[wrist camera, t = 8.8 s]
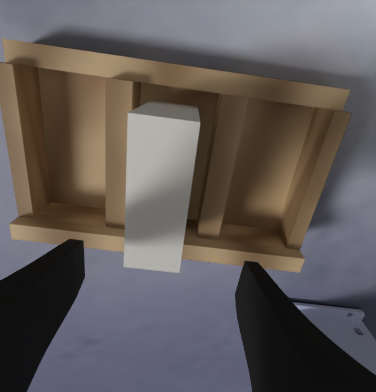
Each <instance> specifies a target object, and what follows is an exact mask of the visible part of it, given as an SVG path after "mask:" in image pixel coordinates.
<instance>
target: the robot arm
mask: <svg viewBox="0 0 376 392" xmlns="http://www.w3.org/2000/svg"><path fill="white" fill-rule="evenodd" d="M84 278H85V266H84V240H76V239H68V240H67V241H65V242H63V243H62V244H60V245H59V246H57V247H55V248H54V249H52V250H51V251H49V252H48V253H46V254H45V255H43V256H41V257H40V258H38V259H37V260H35V261H33V262H32V263H30V264H28V265H27V266H25V267H23V268H22V269H20V270H18V271H16V272H15V273H13V274H11V275H9V276H8V277H6V278H4V279H2V280H0V392H27V390H28V388H29V386H30V383H31V381H32V379H33V377H34V375H35V373H36V370H37V368H38V366H39V364H40V362H41V360H42V358H43V356H44V354H45V352H46V350H47V348H48V346H49V345H50V343H51V341H52V339H53V338H54V336H55V334H56V332H57V331H58V329H59V327H60V325H61V324H62V322H63V320H64V318H65V317H66V315H67V313H68V311H69V310H70V308H71V306H72V304H73V303H74V301H75V299H76V297H77V295H78V292H79V290H80V288H81V285H82V283H83V280H84ZM235 300H236V311H237V319H238V323H239V328H240V333H241V337H242V342H243V346H244V351H245V355H246V360H247V364H248V369H249V374H250V380H251V386H252V392H376V340H375V339H374V337H373V336H372V334H371V333H370V332H369V330H368V329H367V327H366V326H365V324H364V323H363V322H362V319H363V318H364V316H365V314H364V312H363V311H362V310H359V309H351V308H342V307H333V306H324V305H315V304H306V303H297V302H292V301H291V300H290V299H289V298H288V297H287V296H286V295H285V294H284V292H283V291H282V290H281V289H280V288H279V287H278V285H277V284H276V283H275V282H274V281H273V279H272V278H271V277H270V276H269V275H268V273H267V272H266V271H265V270H264V269H263V267H262V266H261V265H260V264H259V263H258V262H253V261H244V265H243V268H242V272H241V275H240V279H239V282H238V286H237V289H236V293H235Z"/></svg>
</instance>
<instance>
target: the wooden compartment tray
mask: <svg viewBox="0 0 376 392" xmlns="http://www.w3.org/2000/svg"><path fill="white" fill-rule="evenodd" d="M2 41H3V48H4V55H5V61H6V63H3V62H0V105H1V111H2V117H3V123H4V129H5V136H6V142H7V148H8V154H9V160H10V166H11V172H12V178H13V184H14V190H15V197H16V203H17V209H18V215H19V217H17V218H16V219H15V220H14V221H12V222H11V223H10V230H11V235H12V239H17V240H25V241H34V242H42V243H51V244H62V243H63V242H65V241H67V240H68V239H76V240H84V247H85V248H94V249H102V250H111V251H120V252H124V239H125V200H126V161H127V122H128V112H130V111H132V110H134V109H136V108H138V107H140V106H142V105H143V104H145V103H147V102H149V101H151V100H156V101H164V102H171V103H179V104H186V105H194V106H198V112H199V117H200V129H199V136H198V143H197V151H196V158H195V165H194V172H193V179H192V186H191V193H190V200H189V207H188V214H187V221H186V229H185V236H184V243H183V250H182V257H181V259H188V260H197V261H205V262H214V263H222V264H231V265H239V266H243V265H244V261H253V262H258V263H259V264H260V265H261V266H262V267H263V268H265V269H274V270H282V271H291V272H299V273H300V270H301V268H302V265H303V263H304V260H305V258H304V256H303V255H302V253H301V252H300V248H301V245H302V242H303V240H304V237H305V235H306V232H307V229H308V227H309V224H310V222H311V219H312V216H313V214H314V211H315V208H316V206H317V203H318V201H319V198H320V195H321V193H322V190H323V188H324V185H325V182H326V180H327V177H328V174H329V172H330V169H331V167H332V164H333V161H334V159H335V156H336V154H337V151H338V148H339V146H340V143H341V140H342V138H343V135H344V133H345V130H346V127H347V125H348V122H349V120H350V117H351V114H352V113H349V112H344V111H343V109H344V106H345V103H346V101H347V98H348V95H349V92H350V90H348V89H341V88H334V87H327V86H320V85H314V84H307V83H300V82H293V81H287V80H280V79H273V78H266V77H259V76H253V75H246V74H239V73H232V72H225V71H219V70H212V69H205V68H198V67H192V66H185V65H178V64H171V63H164V62H158V61H151V60H144V59H137V58H130V57H124V56H117V55H110V54H103V53H97V52H90V51H83V50H76V49H69V48H63V47H56V46H49V45H42V44H35V43H29V42H22V41H15V40H8V39H2Z"/></svg>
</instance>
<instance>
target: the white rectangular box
mask: <svg viewBox="0 0 376 392" xmlns="http://www.w3.org/2000/svg"><path fill="white" fill-rule="evenodd" d="M199 129H200V117H199V112H198V106H194V105H186V104H179V103H171V102H164V101H156V100H151V101H149V102H147V103H145V104H143V105H142V106H140V107H138V108H136V109H134V110H132V111H130V112H128V122H127V161H126V200H125V239H124V267H129V268H138V269H147V270H157V271H166V272H175V273H179V271H180V264H181V257H182V250H183V243H184V236H185V229H186V221H187V214H188V207H189V200H190V193H191V186H192V179H193V172H194V165H195V158H196V151H197V143H198V136H199Z"/></svg>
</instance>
